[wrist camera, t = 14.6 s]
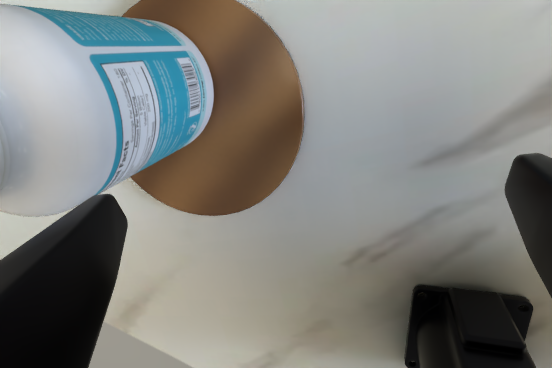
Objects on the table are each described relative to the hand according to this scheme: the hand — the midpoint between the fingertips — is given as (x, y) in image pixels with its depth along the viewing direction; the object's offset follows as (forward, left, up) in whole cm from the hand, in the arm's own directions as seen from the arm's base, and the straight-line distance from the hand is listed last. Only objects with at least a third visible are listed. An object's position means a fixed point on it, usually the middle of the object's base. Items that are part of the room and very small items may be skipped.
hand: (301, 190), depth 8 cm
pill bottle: (+1, +11, -13) cm, 17 cm away
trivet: (0, +9, -13) cm, 16 cm away
